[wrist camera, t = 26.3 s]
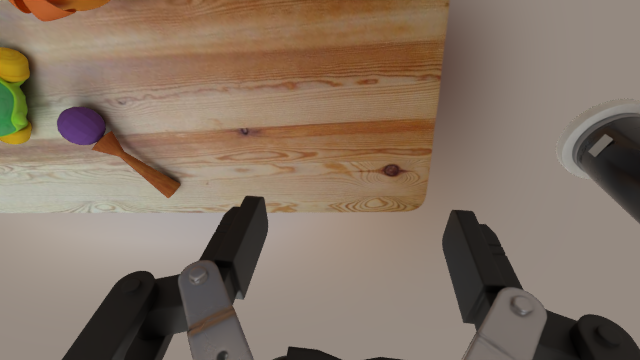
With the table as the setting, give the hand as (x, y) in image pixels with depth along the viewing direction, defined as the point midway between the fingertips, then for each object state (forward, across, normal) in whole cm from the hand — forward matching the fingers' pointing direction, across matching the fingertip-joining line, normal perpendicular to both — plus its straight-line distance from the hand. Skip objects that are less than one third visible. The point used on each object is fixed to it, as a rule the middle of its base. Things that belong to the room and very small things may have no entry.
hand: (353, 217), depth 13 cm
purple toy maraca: (+32, +39, +17) cm, 53 cm away
